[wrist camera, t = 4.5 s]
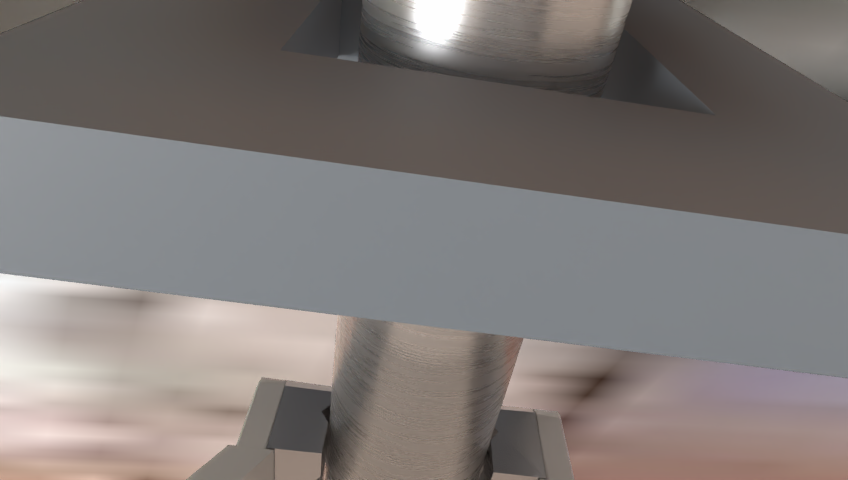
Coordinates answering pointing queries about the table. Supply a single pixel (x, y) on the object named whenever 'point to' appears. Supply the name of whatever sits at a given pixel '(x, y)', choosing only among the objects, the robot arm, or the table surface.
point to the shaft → (432, 346)
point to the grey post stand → (432, 180)
